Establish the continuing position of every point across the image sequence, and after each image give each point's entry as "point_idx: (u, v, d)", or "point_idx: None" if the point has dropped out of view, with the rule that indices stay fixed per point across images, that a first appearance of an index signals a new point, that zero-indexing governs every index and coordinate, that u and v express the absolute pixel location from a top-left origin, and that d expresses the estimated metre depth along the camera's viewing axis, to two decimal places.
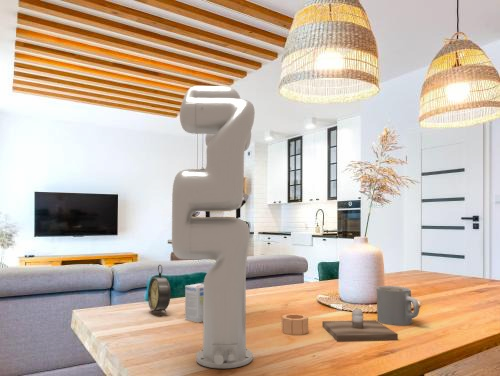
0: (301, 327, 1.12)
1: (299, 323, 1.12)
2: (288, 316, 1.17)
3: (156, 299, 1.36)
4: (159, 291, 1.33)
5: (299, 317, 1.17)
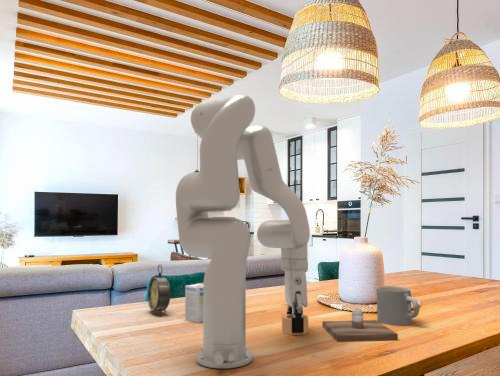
0: None
1: None
2: (288, 316, 1.17)
3: (156, 299, 1.36)
4: (159, 291, 1.33)
5: None
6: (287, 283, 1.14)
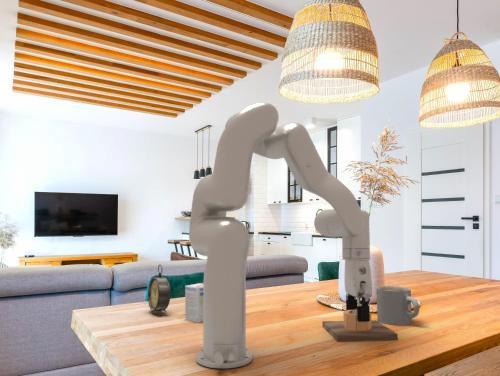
0: (366, 323, 1.10)
1: None
2: (349, 312, 1.16)
3: (156, 299, 1.36)
4: (159, 291, 1.33)
5: None
6: (350, 273, 1.12)
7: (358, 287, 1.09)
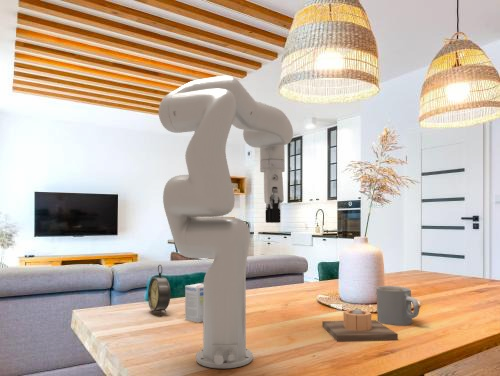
0: (366, 323, 1.10)
1: (364, 319, 1.10)
2: (349, 312, 1.16)
3: (156, 299, 1.36)
4: (159, 291, 1.33)
5: None
6: (265, 182, 1.24)
7: (270, 192, 1.21)
